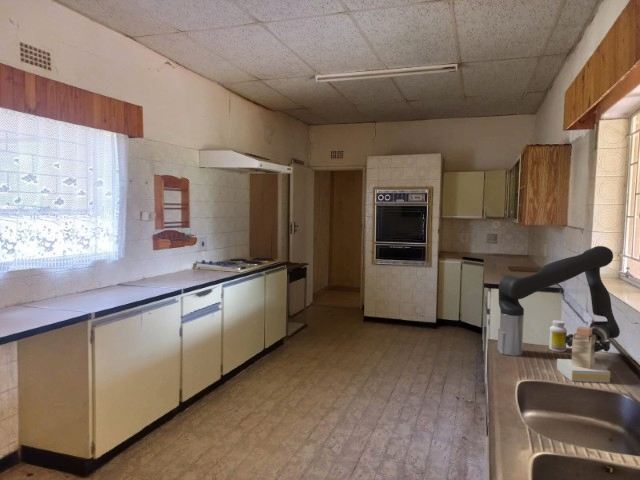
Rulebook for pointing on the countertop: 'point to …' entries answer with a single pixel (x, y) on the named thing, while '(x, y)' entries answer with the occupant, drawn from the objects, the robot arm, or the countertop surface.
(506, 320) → the robot arm
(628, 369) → the countertop surface
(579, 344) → the box
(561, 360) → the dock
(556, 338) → the supplement bottle
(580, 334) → the block
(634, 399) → the countertop surface
